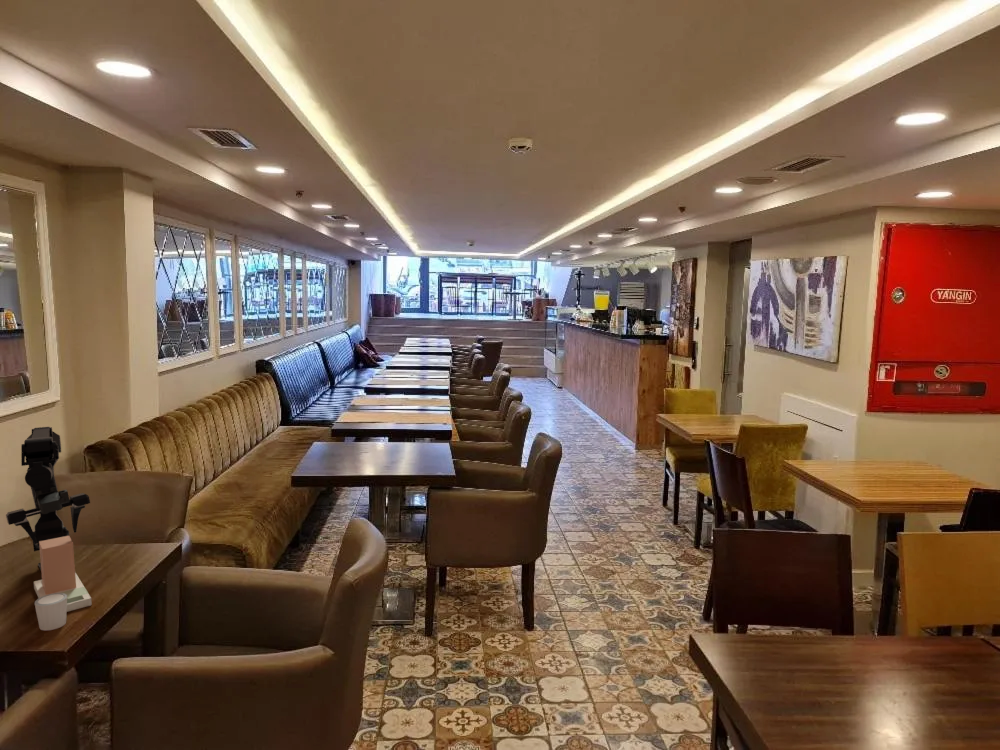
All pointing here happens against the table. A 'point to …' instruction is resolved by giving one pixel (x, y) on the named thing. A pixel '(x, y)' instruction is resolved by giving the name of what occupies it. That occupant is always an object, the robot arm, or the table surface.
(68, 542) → the terracotta block
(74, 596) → the trap board
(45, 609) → the white cup
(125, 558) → the table surface
